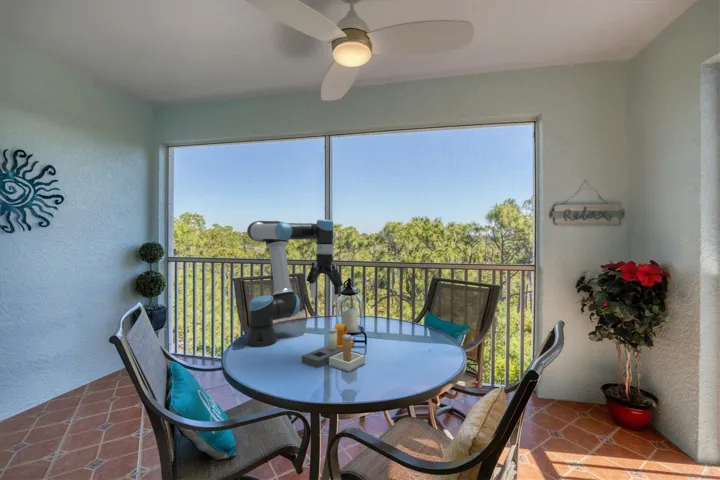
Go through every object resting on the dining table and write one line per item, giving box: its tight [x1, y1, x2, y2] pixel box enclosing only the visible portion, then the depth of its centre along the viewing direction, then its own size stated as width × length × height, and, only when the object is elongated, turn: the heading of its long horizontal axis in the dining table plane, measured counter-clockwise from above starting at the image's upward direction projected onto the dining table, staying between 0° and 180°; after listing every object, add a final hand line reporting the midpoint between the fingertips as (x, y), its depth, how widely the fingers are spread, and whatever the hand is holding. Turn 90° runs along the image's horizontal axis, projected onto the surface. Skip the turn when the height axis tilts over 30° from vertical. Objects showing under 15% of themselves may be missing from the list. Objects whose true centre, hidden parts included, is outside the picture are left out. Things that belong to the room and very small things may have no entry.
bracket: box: [334, 323, 354, 349], centre depth 170 cm, size 11×7×12 cm, turn 160°
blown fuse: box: [343, 333, 352, 362], centre depth 149 cm, size 4×4×12 cm
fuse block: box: [301, 327, 343, 369], centre depth 156 cm, size 18×10×12 cm, turn 143°
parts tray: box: [328, 351, 366, 373], centre depth 149 cm, size 11×11×4 cm
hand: (323, 299), depth 160 cm, fingers open, 13 cm apart
